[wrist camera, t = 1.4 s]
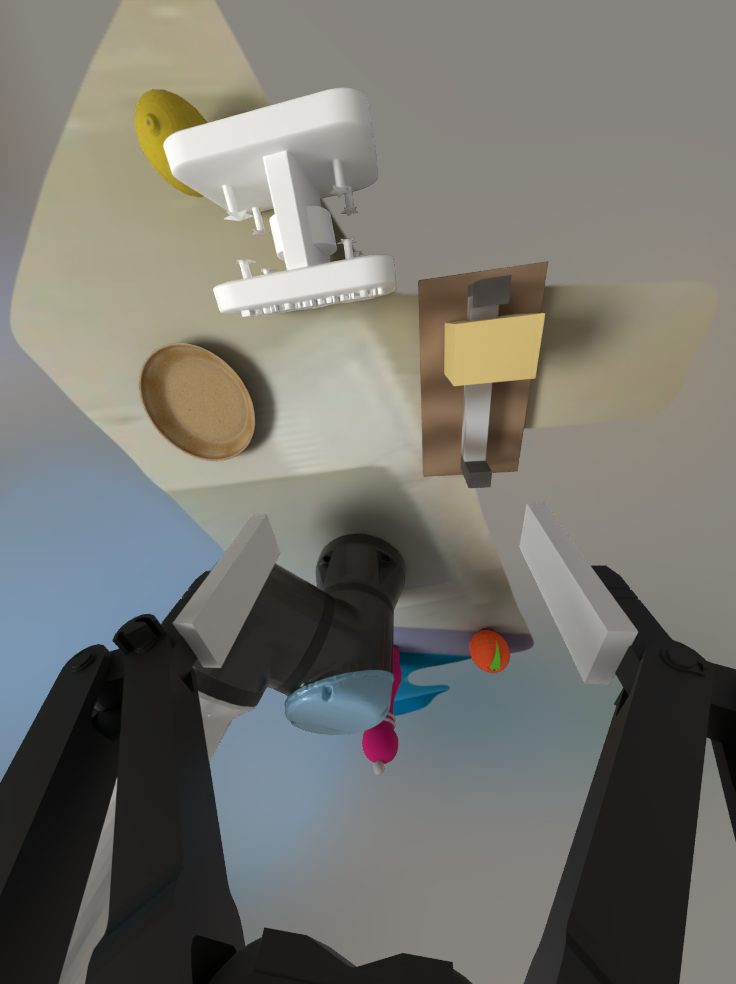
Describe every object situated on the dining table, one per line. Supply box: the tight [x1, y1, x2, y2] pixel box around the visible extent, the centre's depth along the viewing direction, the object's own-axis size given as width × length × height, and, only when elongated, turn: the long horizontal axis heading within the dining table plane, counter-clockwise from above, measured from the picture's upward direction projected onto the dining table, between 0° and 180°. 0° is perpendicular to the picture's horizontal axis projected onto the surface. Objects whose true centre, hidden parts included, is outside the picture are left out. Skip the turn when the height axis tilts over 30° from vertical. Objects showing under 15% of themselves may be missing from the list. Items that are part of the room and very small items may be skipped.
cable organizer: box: [163, 88, 396, 317], centre depth 26 cm, size 15×11×12 cm
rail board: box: [418, 262, 548, 488], centre depth 33 cm, size 22×12×7 cm, turn 6°
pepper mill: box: [362, 646, 402, 775], centre depth 55 cm, size 7×7×20 cm
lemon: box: [135, 90, 207, 197], centre depth 25 cm, size 6×6×8 cm
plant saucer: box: [139, 343, 255, 461], centre depth 39 cm, size 15×15×3 cm
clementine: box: [469, 630, 510, 673], centre depth 55 cm, size 8×7×7 cm
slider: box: [444, 313, 545, 386], centre depth 29 cm, size 5×7×7 cm
